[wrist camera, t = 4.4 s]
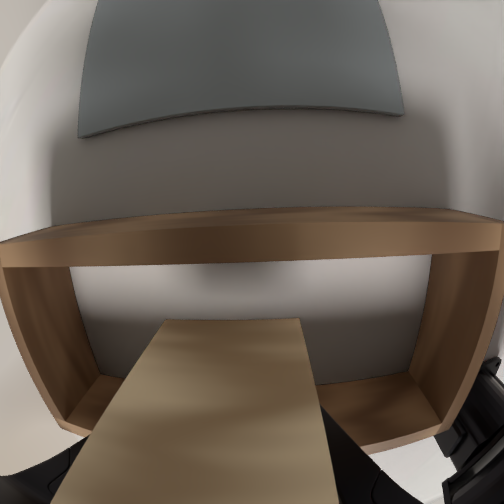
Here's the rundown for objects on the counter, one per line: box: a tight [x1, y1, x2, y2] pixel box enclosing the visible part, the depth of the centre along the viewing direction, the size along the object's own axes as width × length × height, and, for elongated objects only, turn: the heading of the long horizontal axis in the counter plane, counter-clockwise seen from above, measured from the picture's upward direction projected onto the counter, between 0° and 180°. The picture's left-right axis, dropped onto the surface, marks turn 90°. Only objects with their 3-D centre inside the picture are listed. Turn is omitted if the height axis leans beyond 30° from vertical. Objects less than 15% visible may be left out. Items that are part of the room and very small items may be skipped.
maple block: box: [50, 318, 339, 504], centre depth 5 cm, size 4×4×8 cm
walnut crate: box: [0, 207, 504, 455], centre depth 11 cm, size 22×11×5 cm, turn 93°
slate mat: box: [78, 0, 405, 138], centre depth 9 cm, size 16×10×1 cm, turn 93°
